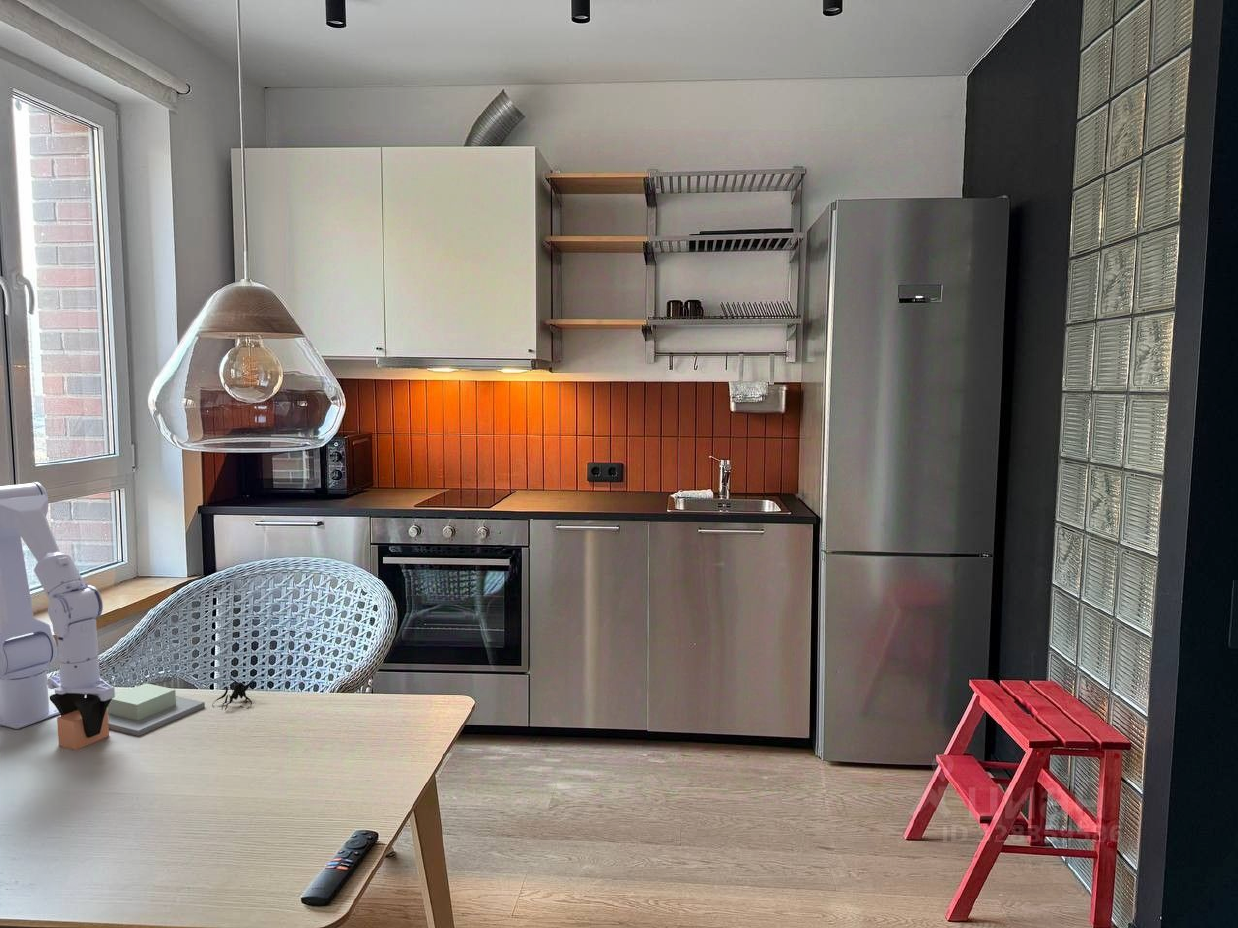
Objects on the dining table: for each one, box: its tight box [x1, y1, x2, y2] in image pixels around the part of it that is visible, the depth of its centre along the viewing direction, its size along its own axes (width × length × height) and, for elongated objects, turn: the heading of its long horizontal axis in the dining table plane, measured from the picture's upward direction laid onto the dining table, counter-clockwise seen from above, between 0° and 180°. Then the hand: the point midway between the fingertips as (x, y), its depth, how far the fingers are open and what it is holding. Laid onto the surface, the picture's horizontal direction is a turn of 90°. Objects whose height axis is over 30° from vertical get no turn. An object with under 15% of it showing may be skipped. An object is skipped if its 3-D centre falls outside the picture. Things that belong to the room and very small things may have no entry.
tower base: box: [107, 682, 206, 737], centre depth 156 cm, size 16×14×4 cm
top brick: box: [56, 709, 110, 751], centre depth 144 cm, size 4×6×5 cm
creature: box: [211, 675, 258, 711], centre depth 160 cm, size 8×5×8 cm
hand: (83, 732), depth 144 cm, fingers closed on top brick, 4 cm apart
